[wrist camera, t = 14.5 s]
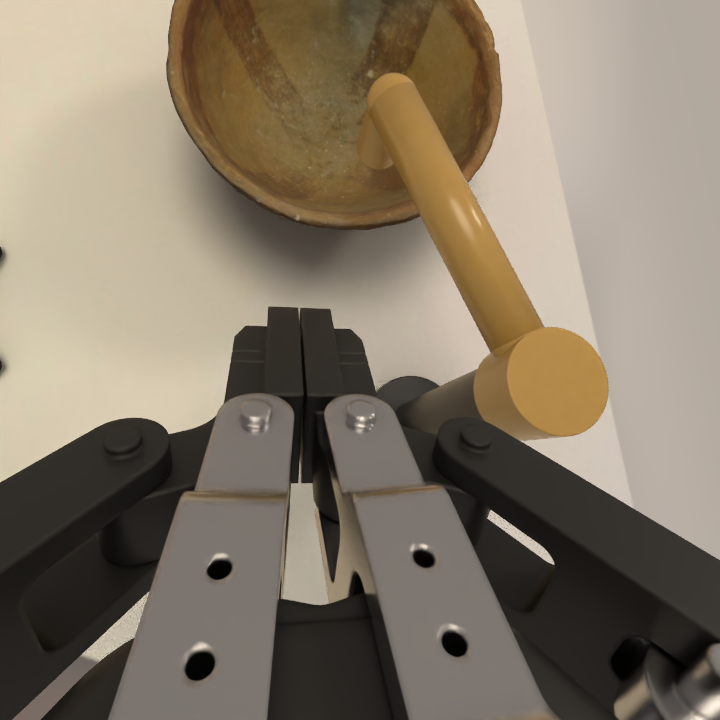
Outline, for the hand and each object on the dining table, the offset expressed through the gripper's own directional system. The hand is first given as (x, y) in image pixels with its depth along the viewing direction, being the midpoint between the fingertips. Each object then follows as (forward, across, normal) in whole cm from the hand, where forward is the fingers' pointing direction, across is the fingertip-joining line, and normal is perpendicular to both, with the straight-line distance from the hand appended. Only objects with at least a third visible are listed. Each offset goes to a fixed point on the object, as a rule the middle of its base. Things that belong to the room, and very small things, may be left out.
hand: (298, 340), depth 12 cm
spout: (+9, +7, -2) cm, 12 cm away
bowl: (+32, +3, -1) cm, 33 cm away
